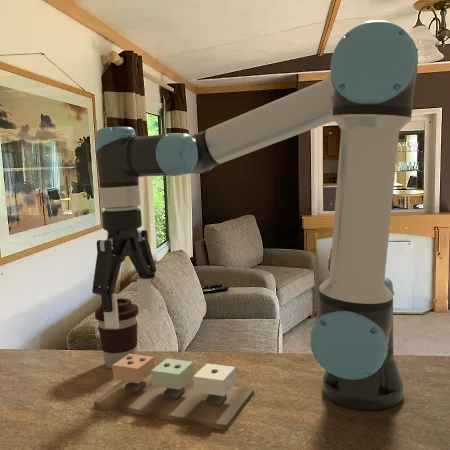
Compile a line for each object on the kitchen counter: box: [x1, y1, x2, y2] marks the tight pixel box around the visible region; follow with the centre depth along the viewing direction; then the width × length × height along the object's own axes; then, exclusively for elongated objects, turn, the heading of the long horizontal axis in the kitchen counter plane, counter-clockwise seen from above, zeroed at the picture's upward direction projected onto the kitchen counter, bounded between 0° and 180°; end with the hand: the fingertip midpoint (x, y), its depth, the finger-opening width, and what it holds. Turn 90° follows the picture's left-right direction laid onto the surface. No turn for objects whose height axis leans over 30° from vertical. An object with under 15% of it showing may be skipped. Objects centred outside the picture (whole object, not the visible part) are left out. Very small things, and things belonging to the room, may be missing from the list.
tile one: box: [192, 363, 237, 396], centre depth 91 cm, size 6×6×3 cm
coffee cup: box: [94, 297, 140, 370], centre depth 113 cm, size 10×10×15 cm
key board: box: [93, 374, 255, 431], centre depth 95 cm, size 28×14×2 cm, turn 67°
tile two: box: [151, 358, 195, 390], centre depth 94 cm, size 6×6×3 cm
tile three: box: [112, 354, 156, 383], centre depth 98 cm, size 6×6×3 cm
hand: (129, 317), depth 96 cm, fingers open, 11 cm apart
